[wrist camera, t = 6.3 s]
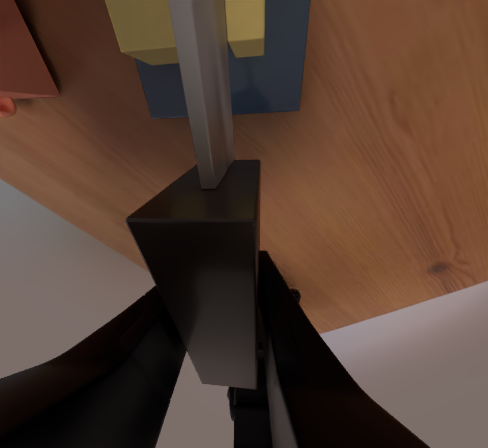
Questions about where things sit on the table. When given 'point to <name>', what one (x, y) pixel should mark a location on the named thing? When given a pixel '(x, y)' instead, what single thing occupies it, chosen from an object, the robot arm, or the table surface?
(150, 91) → the butter dish
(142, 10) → the butter block
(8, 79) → the teapot
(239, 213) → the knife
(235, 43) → the butter slice
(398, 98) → the table surface
